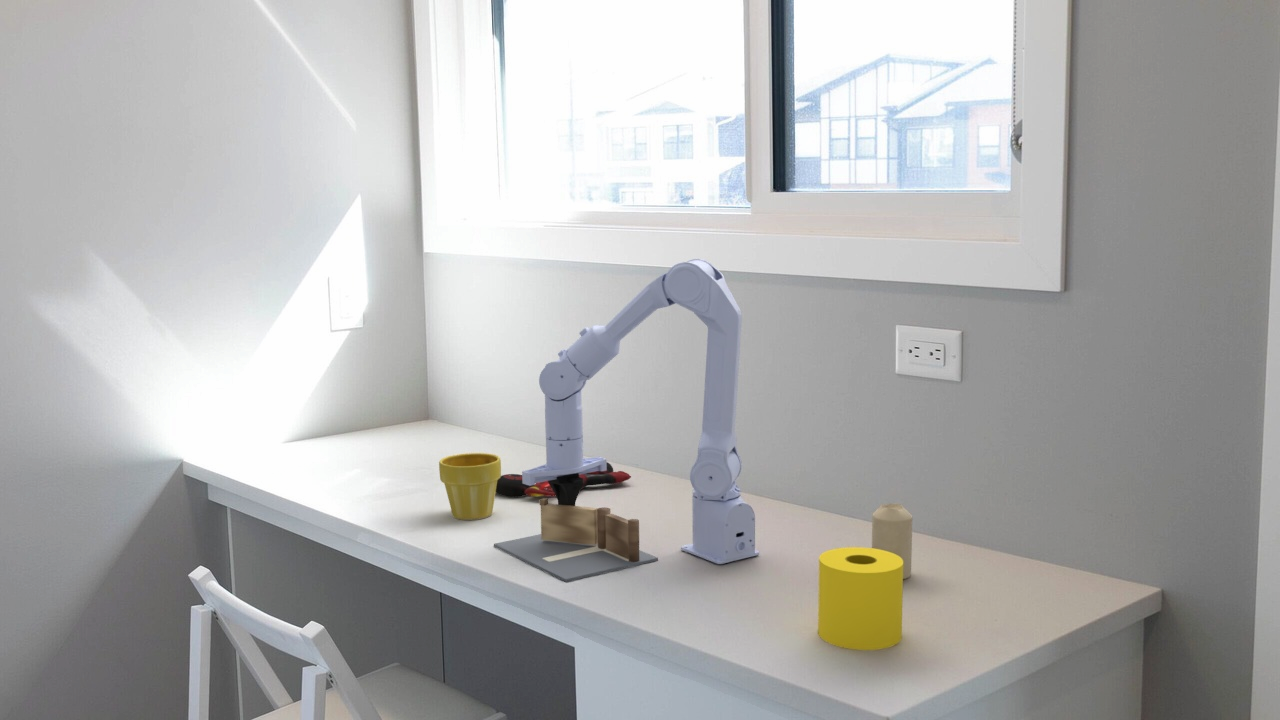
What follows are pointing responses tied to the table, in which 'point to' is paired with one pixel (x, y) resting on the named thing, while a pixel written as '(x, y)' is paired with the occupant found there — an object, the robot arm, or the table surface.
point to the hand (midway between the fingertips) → (566, 522)
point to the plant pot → (470, 483)
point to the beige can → (893, 533)
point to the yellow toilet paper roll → (860, 598)
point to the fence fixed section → (618, 534)
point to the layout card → (568, 557)
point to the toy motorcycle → (515, 487)
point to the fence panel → (568, 523)
